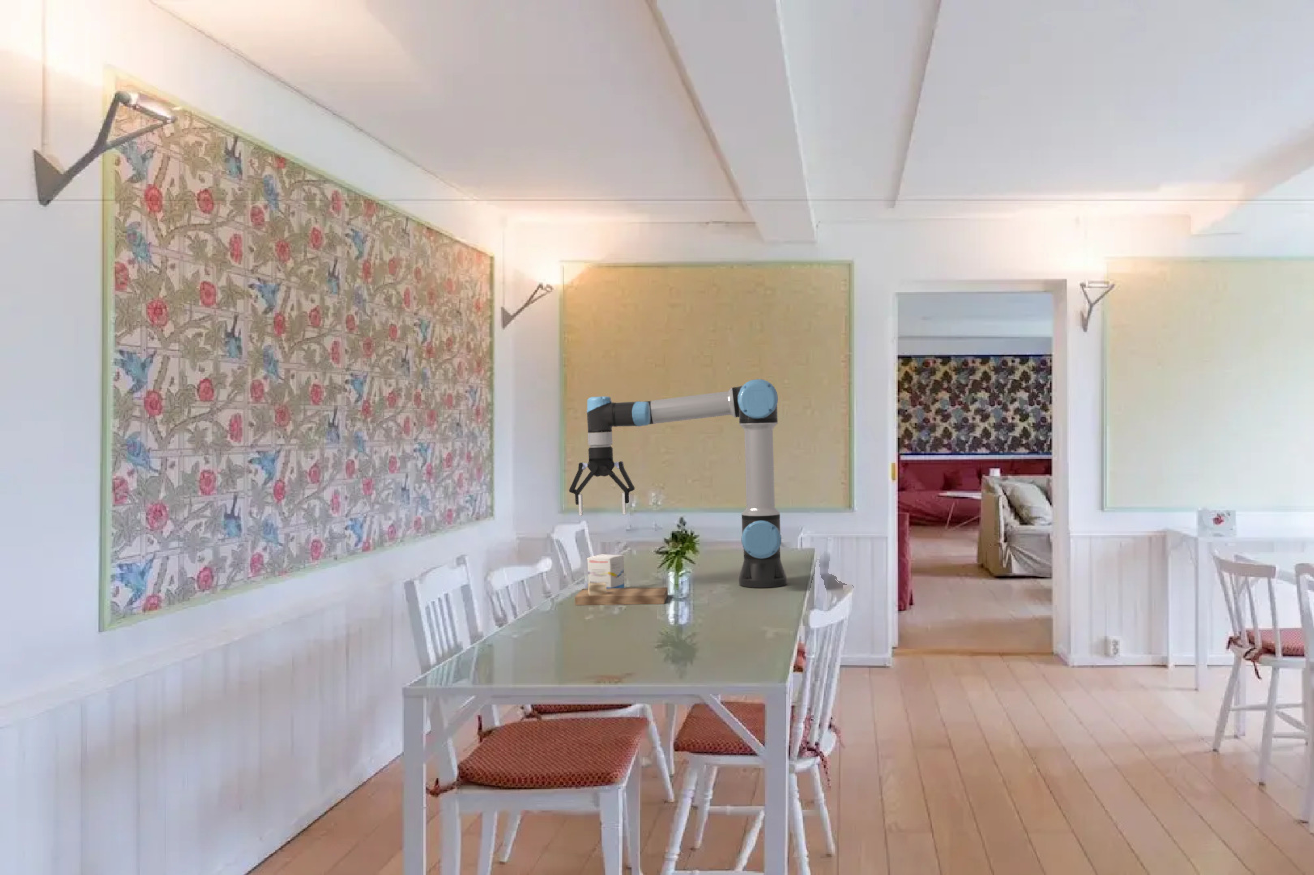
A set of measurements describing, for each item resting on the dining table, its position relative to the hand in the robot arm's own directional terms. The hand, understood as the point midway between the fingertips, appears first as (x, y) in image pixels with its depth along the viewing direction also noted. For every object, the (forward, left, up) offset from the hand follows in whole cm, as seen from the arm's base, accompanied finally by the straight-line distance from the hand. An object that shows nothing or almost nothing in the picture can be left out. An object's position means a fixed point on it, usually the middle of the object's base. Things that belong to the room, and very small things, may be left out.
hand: (602, 514), depth 315 cm
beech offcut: (0, +15, -22) cm, 27 cm away
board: (-7, +12, -24) cm, 28 cm away
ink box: (0, -1, -25) cm, 25 cm away
